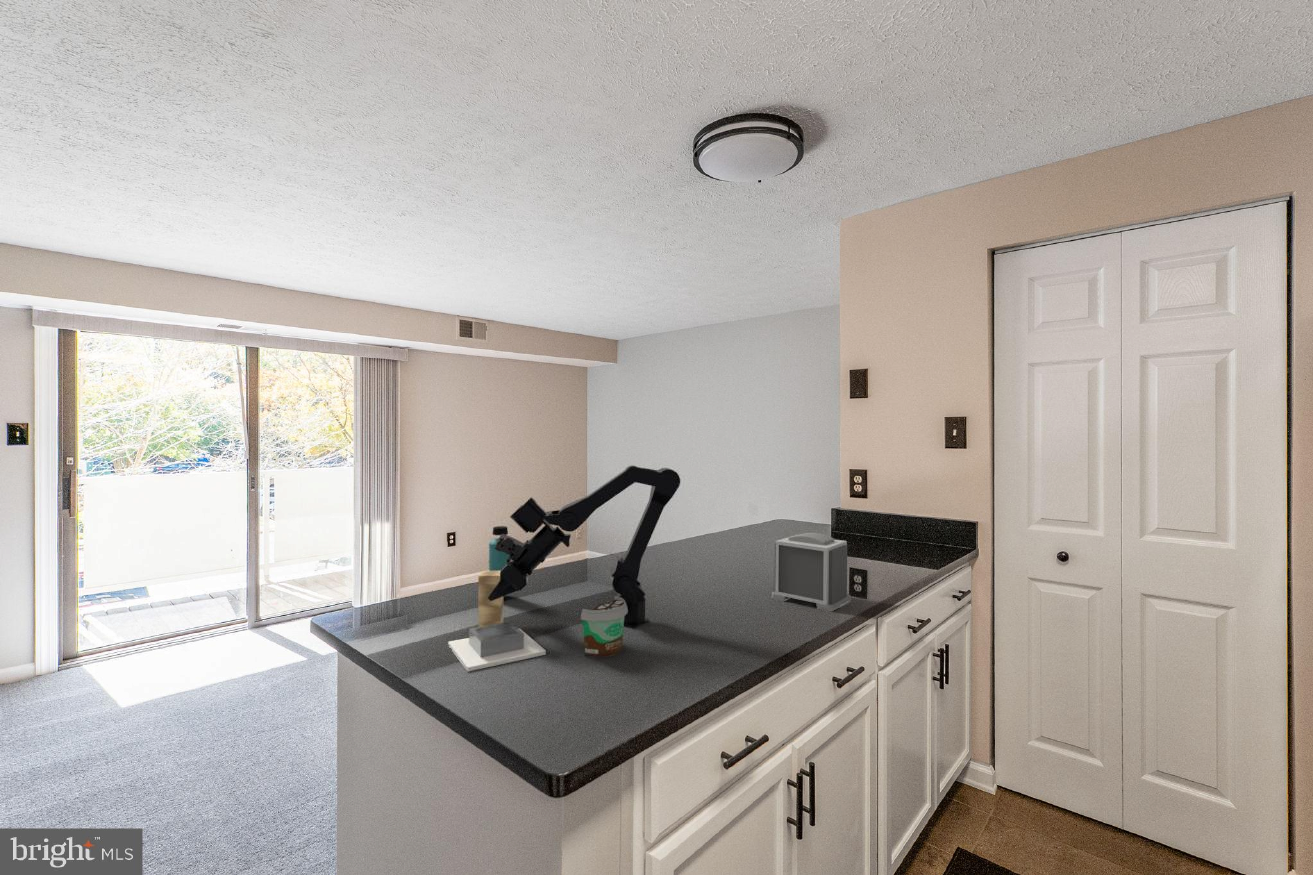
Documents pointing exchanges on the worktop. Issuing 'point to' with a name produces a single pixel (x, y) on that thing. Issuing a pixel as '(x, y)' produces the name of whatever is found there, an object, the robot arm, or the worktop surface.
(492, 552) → the beverage bottle
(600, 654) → the food container
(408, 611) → the worktop surface
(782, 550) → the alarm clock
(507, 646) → the metal collar
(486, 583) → the pine post
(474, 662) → the base plate
